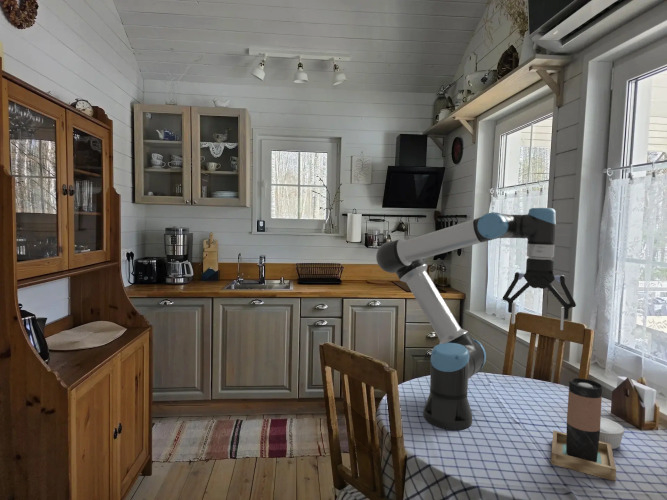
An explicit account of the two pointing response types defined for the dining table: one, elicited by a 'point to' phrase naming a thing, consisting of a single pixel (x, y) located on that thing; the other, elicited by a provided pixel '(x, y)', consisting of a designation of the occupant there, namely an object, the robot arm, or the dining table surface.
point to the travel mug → (583, 419)
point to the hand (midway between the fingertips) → (536, 326)
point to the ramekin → (611, 432)
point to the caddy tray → (599, 468)
